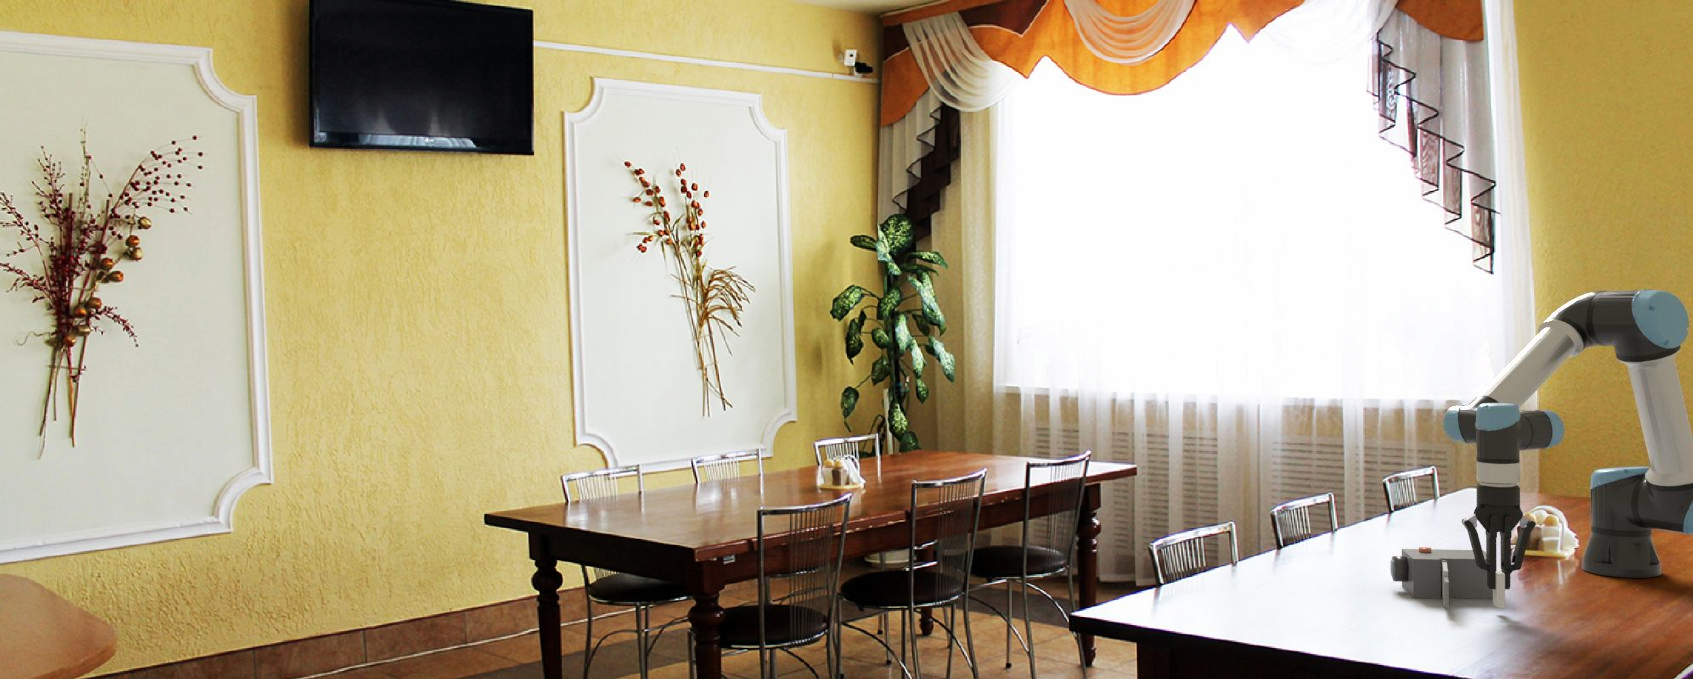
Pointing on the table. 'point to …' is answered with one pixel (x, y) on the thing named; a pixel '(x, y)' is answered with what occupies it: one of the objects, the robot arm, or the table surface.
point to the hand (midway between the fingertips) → (1498, 605)
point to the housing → (1440, 573)
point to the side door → (1445, 584)
